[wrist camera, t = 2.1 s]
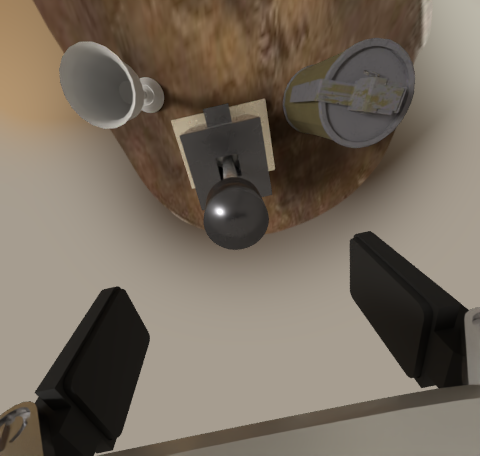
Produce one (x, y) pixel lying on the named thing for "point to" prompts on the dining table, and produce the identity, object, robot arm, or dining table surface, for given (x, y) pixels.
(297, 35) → the dining table surface
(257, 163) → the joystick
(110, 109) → the chalice
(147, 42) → the dining table surface
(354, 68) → the canister
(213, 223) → the plunger
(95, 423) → the robot arm
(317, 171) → the dining table surface
